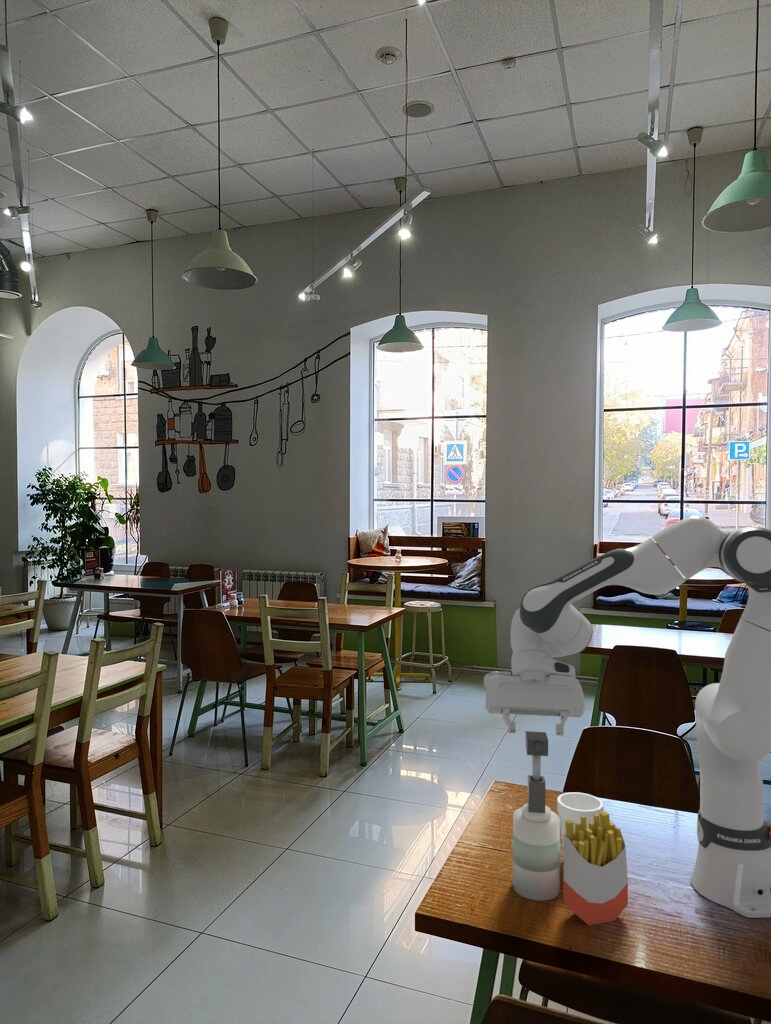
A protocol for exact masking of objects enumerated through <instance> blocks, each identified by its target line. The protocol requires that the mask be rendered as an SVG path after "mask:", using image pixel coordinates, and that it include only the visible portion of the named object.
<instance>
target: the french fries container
mask: <svg viewBox="0 0 771 1024" xmlns="http://www.w3.org/2000/svg"><path fill="white" fill-rule="evenodd" d="M609 818H610V813H608V812H607V811H605V810H604V811H603V812H600V819H599V815H598V814H594V822H593V821H592V822H590V823H589V829H587V827H586V816H585V815H581V824H580V823H579V822H576V823H575V833H574V825H573V822H572V821H571V820H567V821H565V823H566V834H564V851H563V903H564V904H565V905H566V906H567V907H568V908H569V909H570V910H571V911H572V912H573V913H574V914H575V915H576V916H577V917H578V918H579V919H581V921H583V922H584V923H585V924H586V925H588V926H589V925H590V926H594V924H595V925H600V924H604V923H608V922H614V921H616V920H617V919H618V917H619V916H620V915H621V914H622V912H623V911H624V910H625V909H626V907H627V906H628V903H629V899H628V898H629V891H628V890H629V880H628V865H627V850H626V847H627V846H626V844H625V840H624V837H623V834H622V833H623V832H622V831H621V828H620V827H616V824H615V823H614V822H611V823H610V820H611V819H610V820H609ZM600 825H601V826H600Z"/></svg>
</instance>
